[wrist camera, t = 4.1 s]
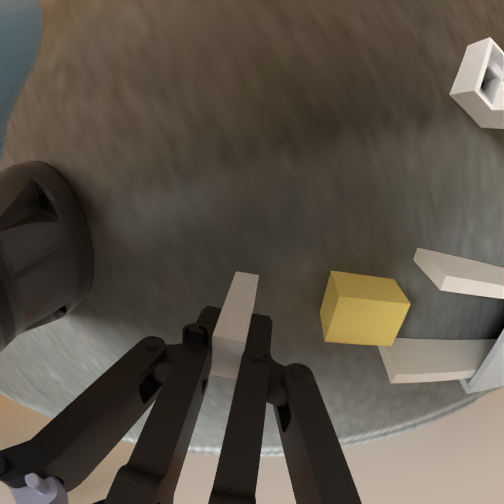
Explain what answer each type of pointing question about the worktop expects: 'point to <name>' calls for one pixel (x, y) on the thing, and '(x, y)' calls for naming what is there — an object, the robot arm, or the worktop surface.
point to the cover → (488, 370)
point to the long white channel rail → (445, 351)
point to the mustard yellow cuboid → (362, 309)
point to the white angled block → (470, 79)
